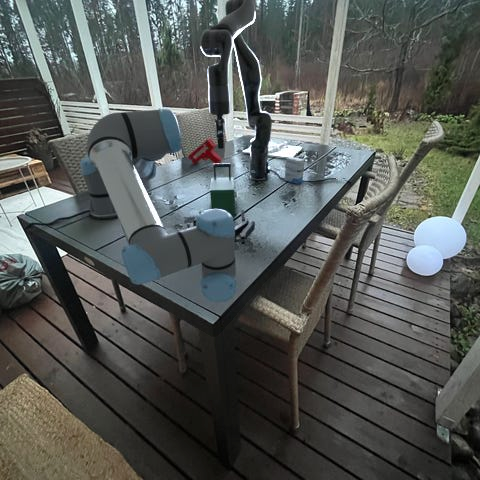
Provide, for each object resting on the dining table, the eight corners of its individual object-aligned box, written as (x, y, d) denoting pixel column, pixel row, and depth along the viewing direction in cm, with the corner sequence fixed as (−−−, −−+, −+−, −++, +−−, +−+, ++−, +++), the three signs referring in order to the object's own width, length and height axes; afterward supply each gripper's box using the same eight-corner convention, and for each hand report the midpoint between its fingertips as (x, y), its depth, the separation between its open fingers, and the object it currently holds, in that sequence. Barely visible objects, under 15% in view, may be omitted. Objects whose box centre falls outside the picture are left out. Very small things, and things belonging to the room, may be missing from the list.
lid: (212, 180, 117) (210, 161, 113) (233, 179, 118) (233, 161, 113) (210, 192, 105) (208, 172, 101) (234, 192, 106) (233, 172, 101)
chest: (213, 202, 122) (211, 180, 117) (234, 201, 123) (233, 180, 117) (211, 216, 111) (210, 193, 105) (234, 215, 111) (234, 192, 106)
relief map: (291, 159, 177) (291, 151, 174) (243, 153, 190) (243, 145, 187) (302, 149, 197) (303, 142, 194) (258, 144, 211) (258, 137, 208)
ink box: (302, 181, 142) (305, 159, 136) (297, 184, 139) (300, 161, 133) (289, 177, 147) (291, 156, 141) (284, 180, 144) (285, 158, 138)
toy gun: (225, 158, 166) (210, 137, 162) (223, 160, 163) (207, 139, 159) (205, 174, 176) (191, 154, 172) (202, 176, 173) (188, 156, 169)
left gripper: (174, 264, 72) (184, 225, 90) (267, 261, 73) (259, 223, 90) (169, 240, 68) (181, 205, 86) (268, 237, 69) (260, 202, 86)
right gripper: (209, 97, 104) (212, 141, 113) (207, 101, 92) (210, 150, 101) (229, 97, 104) (230, 141, 113) (229, 101, 92) (230, 150, 101)
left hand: (221, 214), depth 88 cm, fingers open, 13 cm apart
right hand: (221, 145), depth 107 cm, fingers open, 8 cm apart
